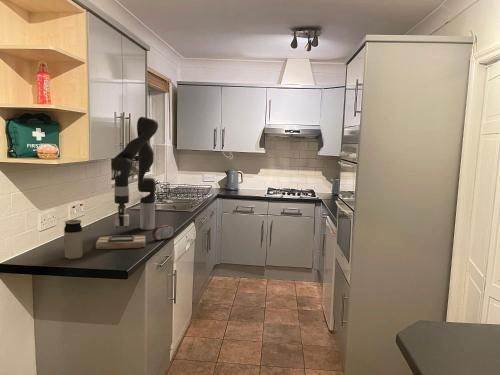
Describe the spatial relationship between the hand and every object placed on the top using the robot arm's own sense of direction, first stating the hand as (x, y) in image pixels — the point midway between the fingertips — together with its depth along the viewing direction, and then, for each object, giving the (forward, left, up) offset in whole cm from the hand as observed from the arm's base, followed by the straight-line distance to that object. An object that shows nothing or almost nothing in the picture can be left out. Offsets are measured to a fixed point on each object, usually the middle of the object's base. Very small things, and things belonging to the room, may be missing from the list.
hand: (121, 224), depth 216 cm
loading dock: (0, 0, -11) cm, 11 cm away
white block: (0, 0, -1) cm, 1 cm away
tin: (-10, +23, -12) cm, 28 cm away
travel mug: (+20, -21, -12) cm, 31 cm away
